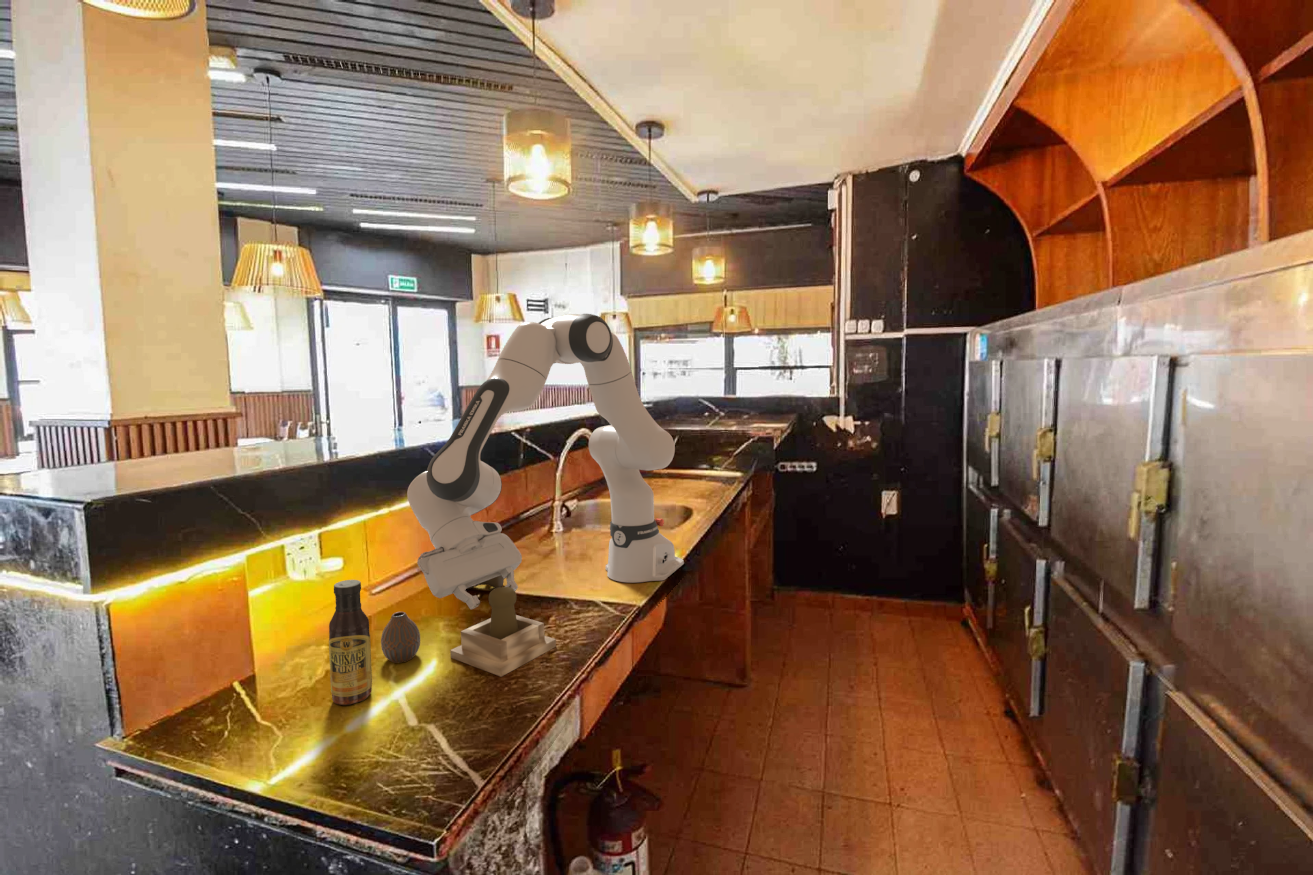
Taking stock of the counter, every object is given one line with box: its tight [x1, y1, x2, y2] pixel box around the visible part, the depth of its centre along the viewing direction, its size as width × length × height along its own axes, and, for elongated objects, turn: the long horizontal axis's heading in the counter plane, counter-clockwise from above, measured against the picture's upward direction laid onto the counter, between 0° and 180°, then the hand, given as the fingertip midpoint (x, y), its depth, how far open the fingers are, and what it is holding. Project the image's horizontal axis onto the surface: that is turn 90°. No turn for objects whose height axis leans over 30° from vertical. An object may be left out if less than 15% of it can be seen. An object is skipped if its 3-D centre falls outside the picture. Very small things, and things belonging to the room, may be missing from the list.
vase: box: [380, 611, 421, 664], centre depth 119 cm, size 7×7×9 cm
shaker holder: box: [449, 614, 557, 678], centre depth 120 cm, size 14×14×5 cm
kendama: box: [466, 575, 505, 590], centre depth 160 cm, size 6×10×20 cm
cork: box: [488, 586, 519, 640], centre depth 120 cm, size 6×6×11 cm
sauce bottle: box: [328, 579, 373, 706], centre depth 104 cm, size 6×6×20 cm
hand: (495, 598), depth 120 cm, fingers open, 8 cm apart
